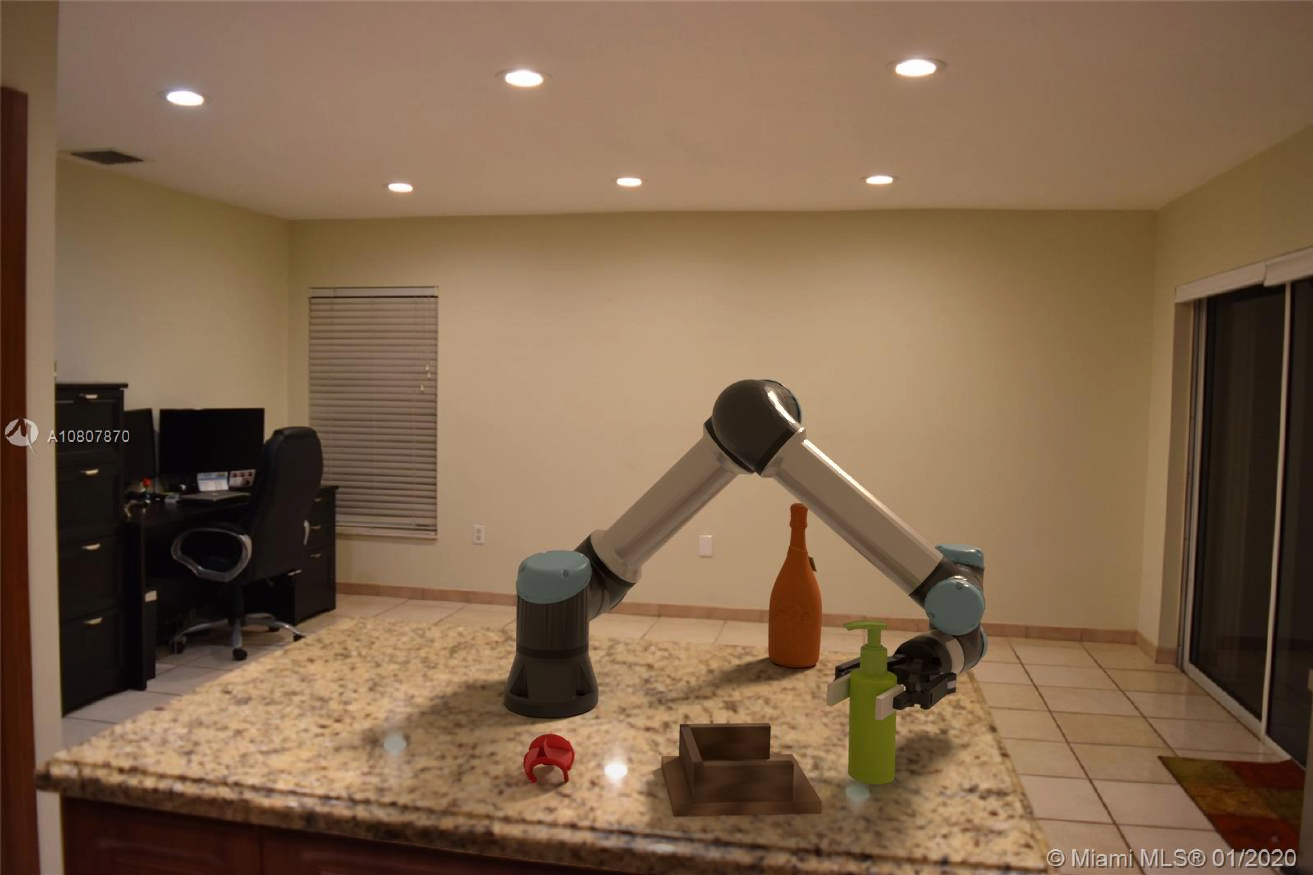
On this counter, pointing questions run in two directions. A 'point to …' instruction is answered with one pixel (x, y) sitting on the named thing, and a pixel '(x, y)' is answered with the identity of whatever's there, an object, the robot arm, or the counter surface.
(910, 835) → the counter surface
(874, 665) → the soap dispenser
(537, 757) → the cap
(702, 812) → the u rest
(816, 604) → the wine bottle
